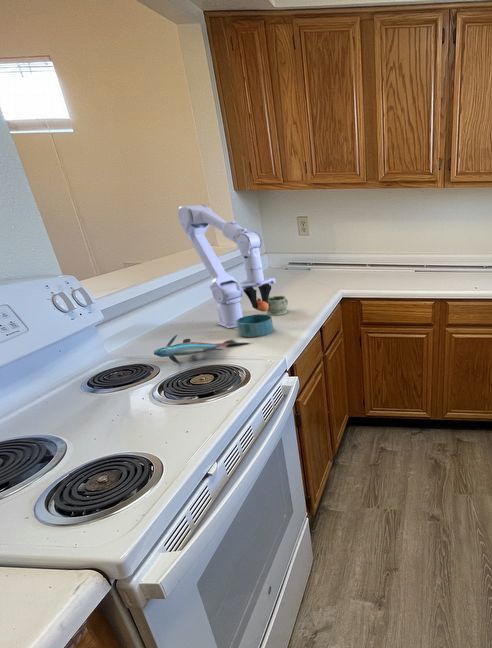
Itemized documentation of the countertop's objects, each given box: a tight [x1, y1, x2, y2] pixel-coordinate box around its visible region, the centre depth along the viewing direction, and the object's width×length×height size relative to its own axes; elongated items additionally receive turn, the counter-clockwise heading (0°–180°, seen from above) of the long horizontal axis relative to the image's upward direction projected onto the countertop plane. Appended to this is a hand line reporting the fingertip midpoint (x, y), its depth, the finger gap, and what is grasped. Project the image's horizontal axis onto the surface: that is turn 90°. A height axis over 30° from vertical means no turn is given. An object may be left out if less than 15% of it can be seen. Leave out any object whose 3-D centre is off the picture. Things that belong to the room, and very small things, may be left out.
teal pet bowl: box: [236, 313, 274, 338], centre depth 150 cm, size 12×12×5 cm
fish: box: [153, 334, 249, 364], centre depth 129 cm, size 30×8×15 cm
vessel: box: [266, 295, 289, 316], centre depth 173 cm, size 12×9×6 cm
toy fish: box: [251, 297, 269, 312], centre depth 151 cm, size 9×4×4 cm, turn 49°
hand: (260, 306), depth 151 cm, fingers closed on toy fish, 3 cm apart
